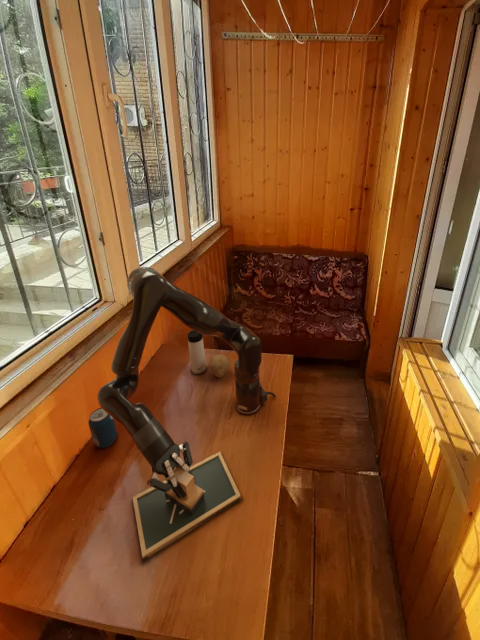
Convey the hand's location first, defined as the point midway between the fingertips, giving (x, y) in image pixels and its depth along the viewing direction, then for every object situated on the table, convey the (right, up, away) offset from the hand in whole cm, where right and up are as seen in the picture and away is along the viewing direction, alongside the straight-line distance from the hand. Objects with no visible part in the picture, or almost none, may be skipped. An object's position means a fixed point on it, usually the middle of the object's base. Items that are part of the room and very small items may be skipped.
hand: (188, 490), depth 85 cm
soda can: (-35, +1, +21) cm, 41 cm away
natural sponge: (-3, +12, +52) cm, 53 cm away
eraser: (-2, -4, +2) cm, 5 cm away
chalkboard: (-1, -6, +3) cm, 7 cm away
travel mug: (-13, +13, +54) cm, 58 cm away
